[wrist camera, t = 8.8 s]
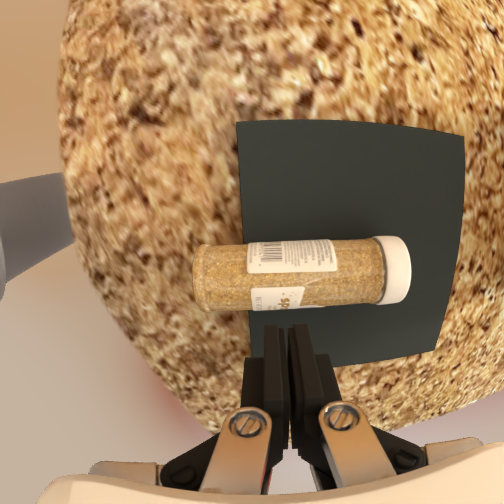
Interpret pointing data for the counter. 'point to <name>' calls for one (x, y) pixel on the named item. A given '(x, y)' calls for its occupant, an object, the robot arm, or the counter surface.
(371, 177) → the mat
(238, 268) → the sprinkles bottle
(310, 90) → the counter surface
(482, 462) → the robot arm
